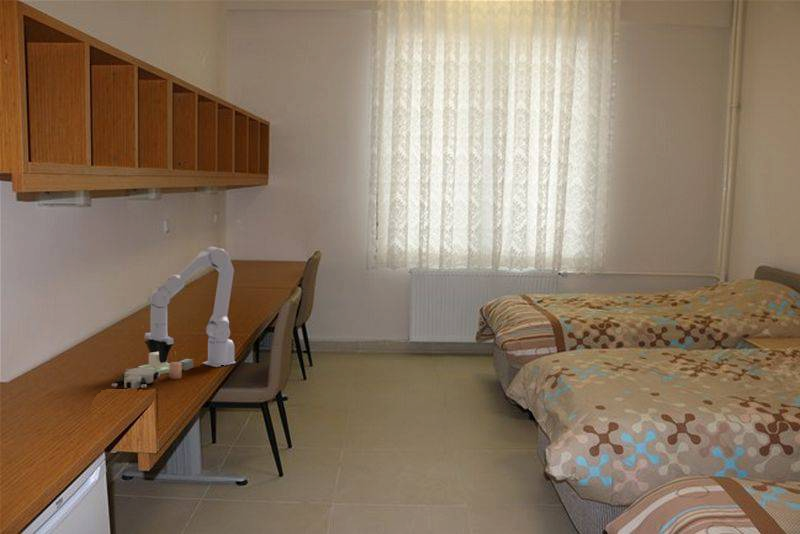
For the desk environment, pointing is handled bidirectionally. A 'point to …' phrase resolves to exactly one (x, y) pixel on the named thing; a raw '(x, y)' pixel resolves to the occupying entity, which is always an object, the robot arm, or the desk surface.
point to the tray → (164, 369)
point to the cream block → (156, 361)
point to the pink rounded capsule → (175, 370)
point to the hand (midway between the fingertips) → (158, 361)
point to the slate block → (187, 364)
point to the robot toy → (137, 378)
